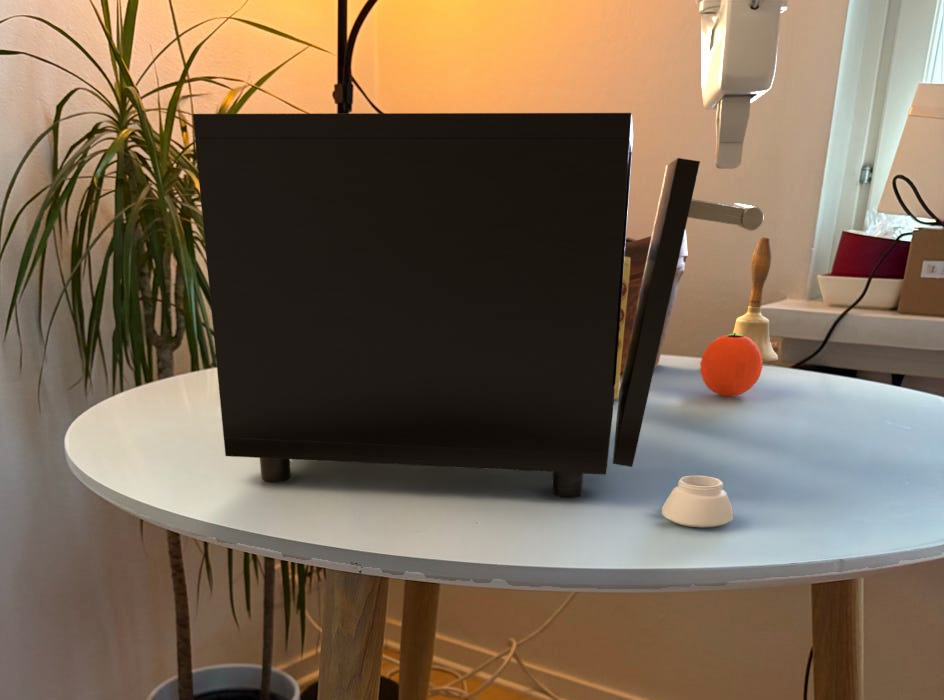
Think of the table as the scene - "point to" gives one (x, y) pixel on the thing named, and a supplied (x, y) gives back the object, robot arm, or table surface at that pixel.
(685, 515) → the white jar
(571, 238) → the oven
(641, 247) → the terracotta flower pot
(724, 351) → the clementine
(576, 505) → the table surface
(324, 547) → the table surface
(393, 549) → the table surface
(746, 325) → the hand bell
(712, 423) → the table surface
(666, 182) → the oven door
